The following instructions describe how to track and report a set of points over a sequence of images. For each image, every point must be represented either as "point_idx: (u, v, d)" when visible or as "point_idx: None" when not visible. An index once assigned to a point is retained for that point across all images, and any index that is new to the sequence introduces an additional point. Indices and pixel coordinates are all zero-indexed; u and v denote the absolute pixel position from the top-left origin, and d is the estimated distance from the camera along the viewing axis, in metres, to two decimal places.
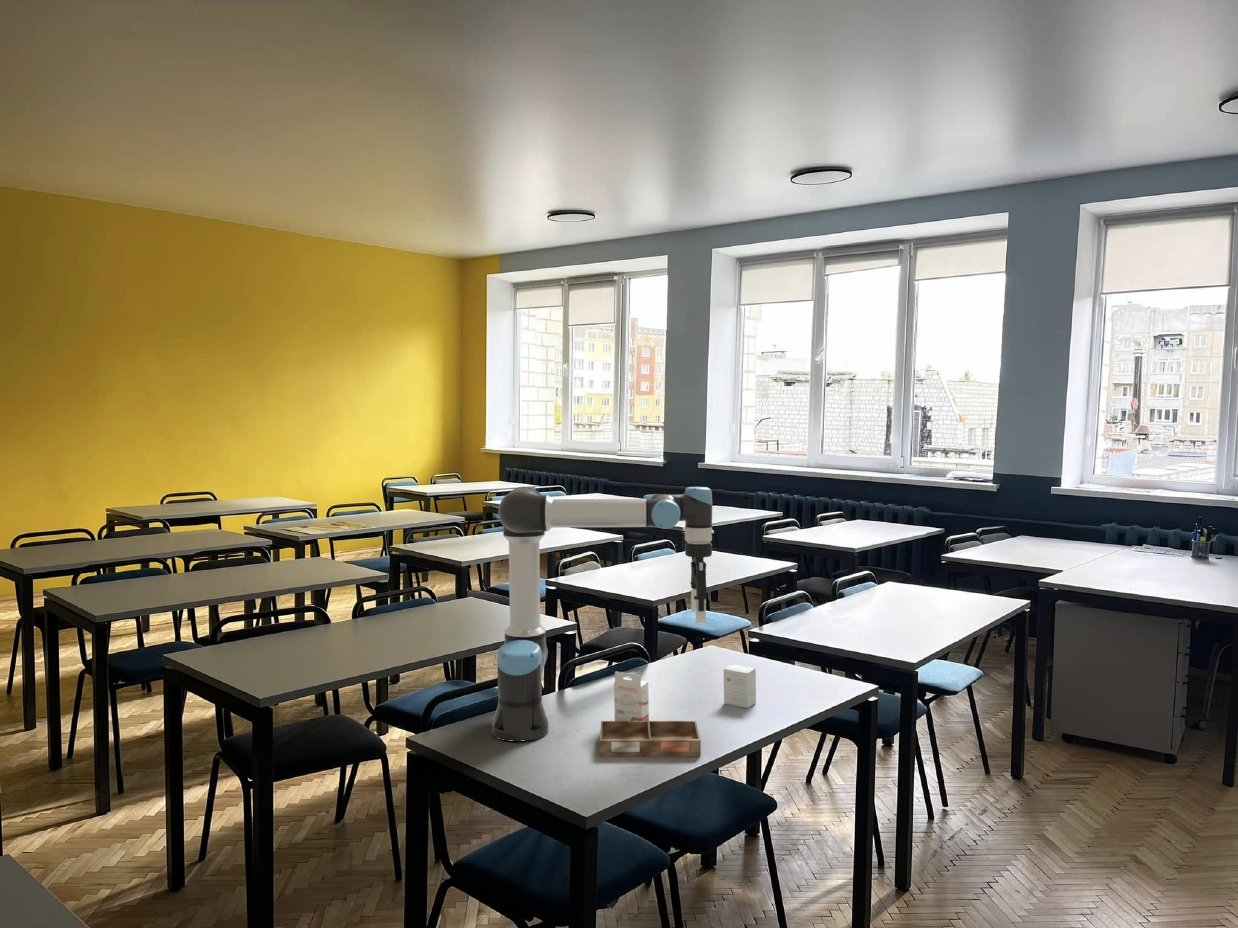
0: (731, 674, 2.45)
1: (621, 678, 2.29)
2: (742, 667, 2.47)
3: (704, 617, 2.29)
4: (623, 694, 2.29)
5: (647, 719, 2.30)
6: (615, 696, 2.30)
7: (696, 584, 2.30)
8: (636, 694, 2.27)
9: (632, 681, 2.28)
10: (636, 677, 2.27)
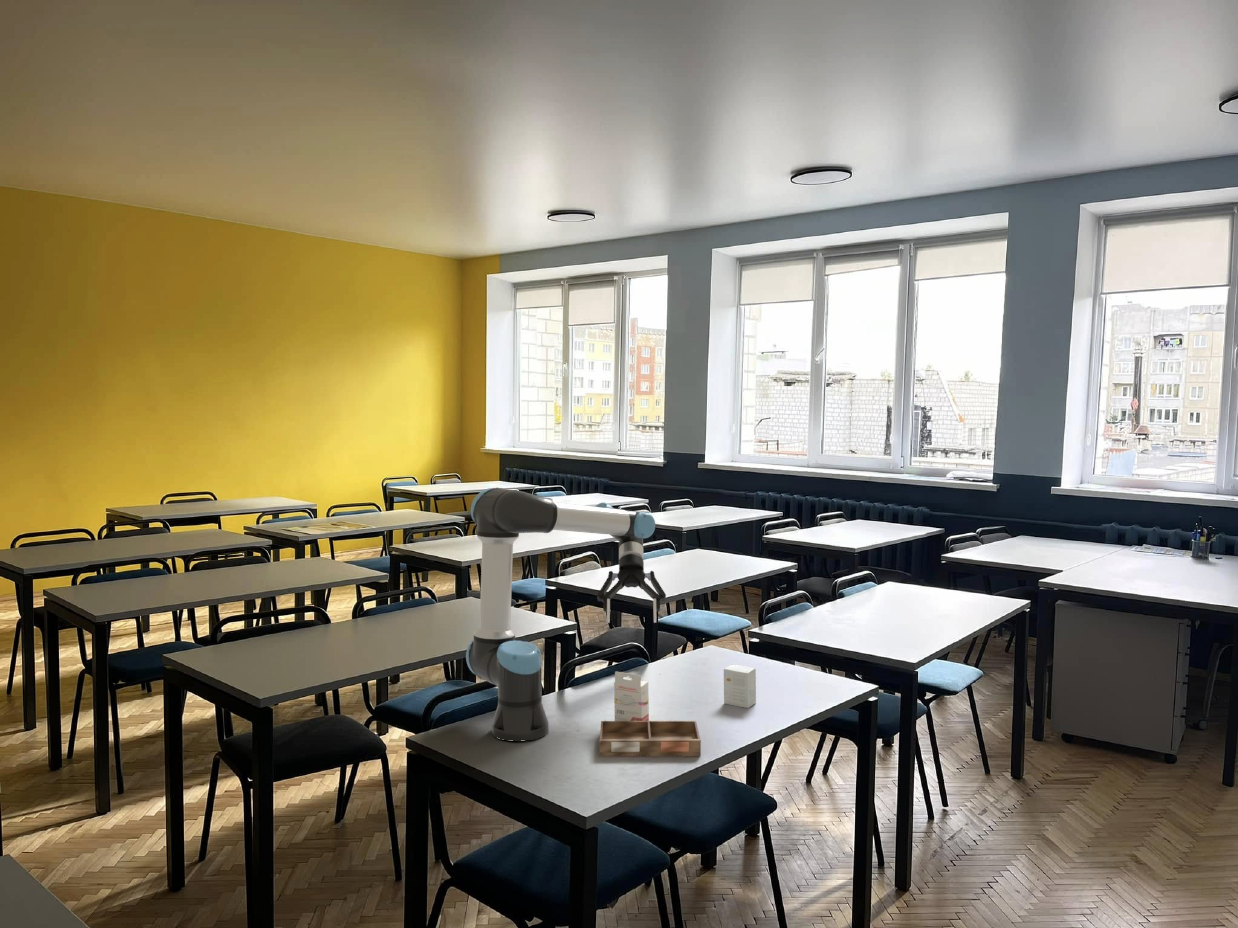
0: (731, 674, 2.45)
1: (621, 678, 2.29)
2: (742, 667, 2.47)
3: None
4: (623, 694, 2.29)
5: (647, 719, 2.30)
6: (615, 696, 2.30)
7: (651, 588, 2.49)
8: (636, 695, 2.27)
9: (632, 681, 2.28)
10: (636, 677, 2.27)
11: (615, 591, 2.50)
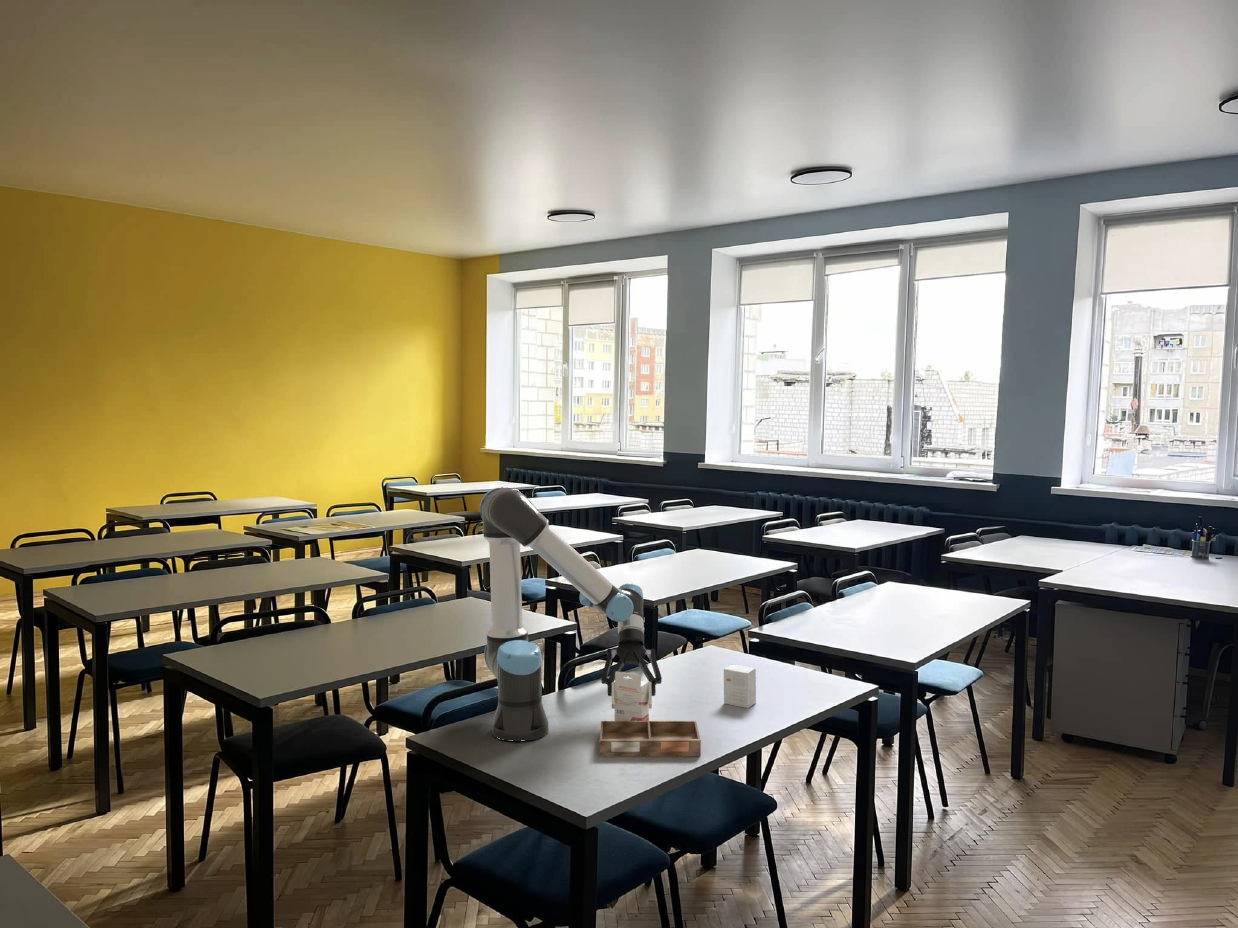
0: (731, 674, 2.45)
1: (621, 678, 2.29)
2: (742, 667, 2.47)
3: None
4: (623, 694, 2.29)
5: (647, 719, 2.30)
6: (615, 696, 2.30)
7: (648, 668, 2.34)
8: (636, 694, 2.27)
9: (632, 681, 2.28)
10: (636, 677, 2.27)
11: (618, 671, 2.34)
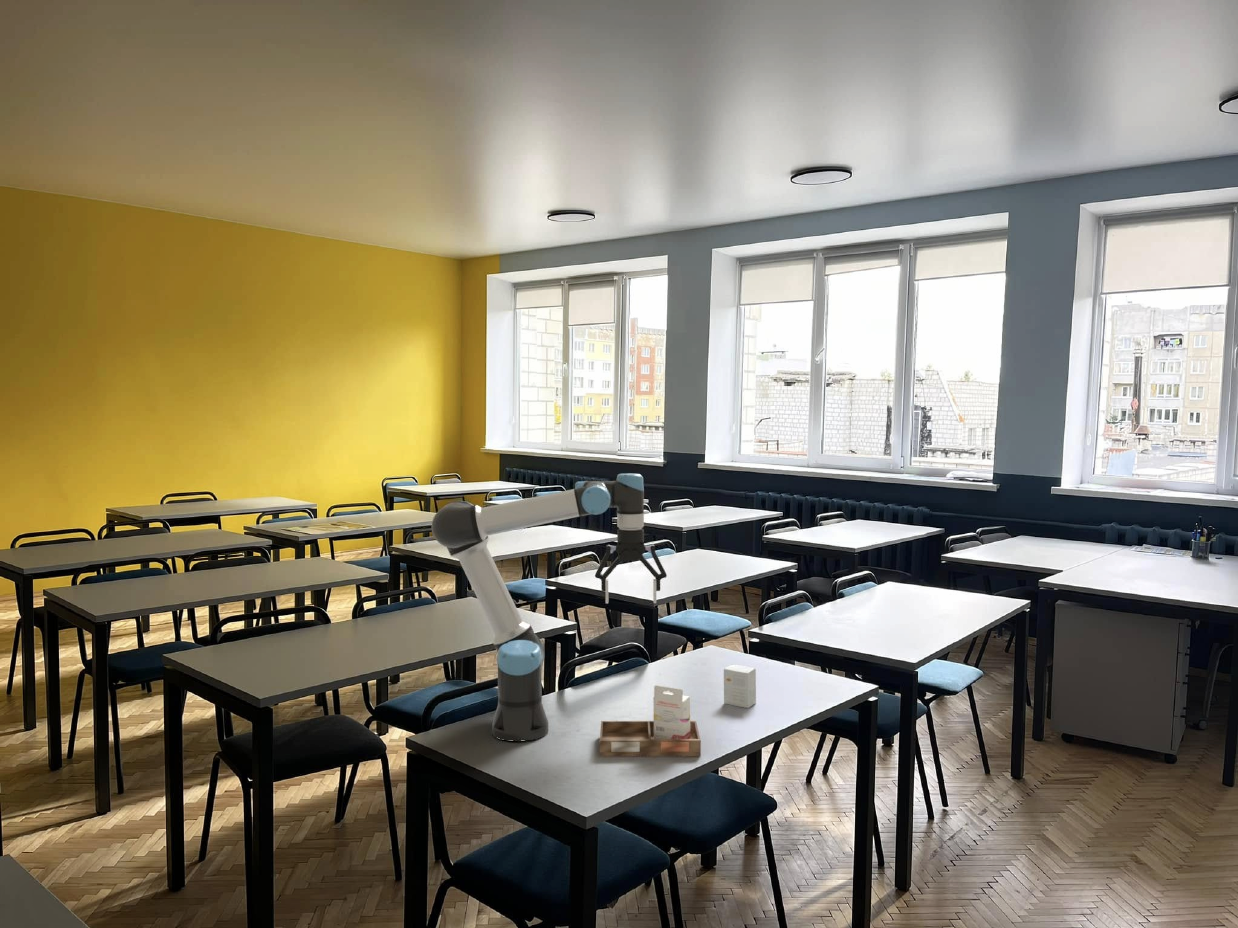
0: (731, 674, 2.45)
1: (661, 693, 2.14)
2: (742, 667, 2.47)
3: None
4: (663, 710, 2.14)
5: (689, 736, 2.15)
6: (654, 712, 2.15)
7: (651, 567, 2.37)
8: (677, 710, 2.12)
9: (673, 696, 2.12)
10: (677, 692, 2.12)
11: (613, 568, 2.38)
